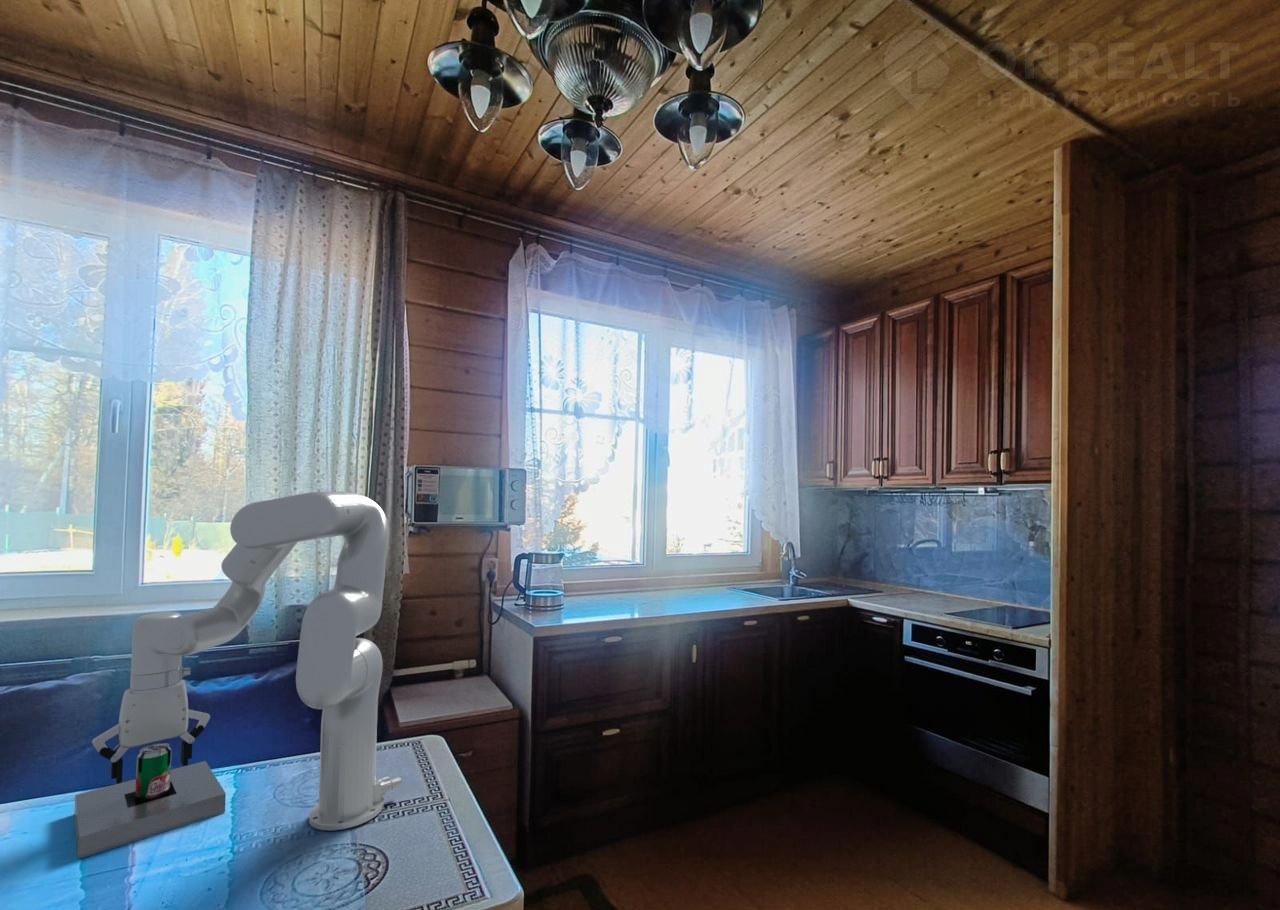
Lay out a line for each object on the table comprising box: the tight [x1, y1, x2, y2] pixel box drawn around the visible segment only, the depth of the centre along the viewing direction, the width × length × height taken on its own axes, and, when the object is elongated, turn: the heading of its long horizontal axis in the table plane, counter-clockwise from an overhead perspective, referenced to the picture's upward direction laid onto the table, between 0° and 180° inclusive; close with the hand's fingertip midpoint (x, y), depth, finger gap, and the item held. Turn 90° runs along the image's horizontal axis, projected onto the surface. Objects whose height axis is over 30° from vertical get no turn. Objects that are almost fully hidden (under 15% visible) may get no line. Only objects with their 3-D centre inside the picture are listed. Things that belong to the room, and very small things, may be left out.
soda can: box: [135, 742, 172, 806], centre depth 112 cm, size 5×5×12 cm
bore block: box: [73, 760, 227, 860], centre depth 111 cm, size 20×20×4 cm
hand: (152, 772), depth 112 cm, fingers open, 9 cm apart
